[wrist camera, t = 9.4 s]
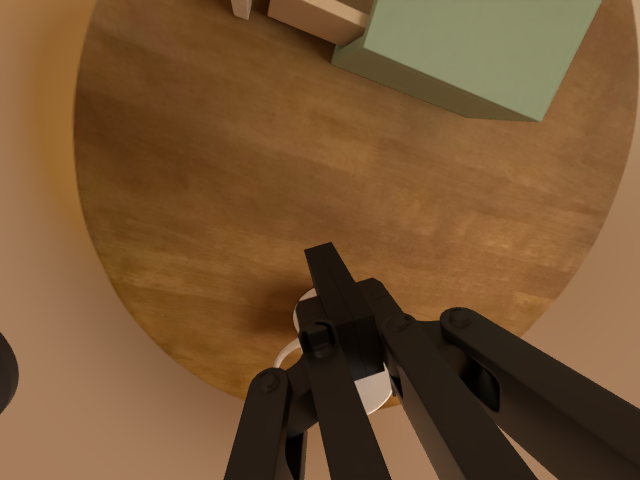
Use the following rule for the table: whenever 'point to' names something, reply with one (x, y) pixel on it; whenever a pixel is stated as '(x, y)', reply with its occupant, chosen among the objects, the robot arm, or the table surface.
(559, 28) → the cabinet
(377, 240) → the table surface
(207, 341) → the table surface
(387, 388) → the mug
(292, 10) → the drawer
